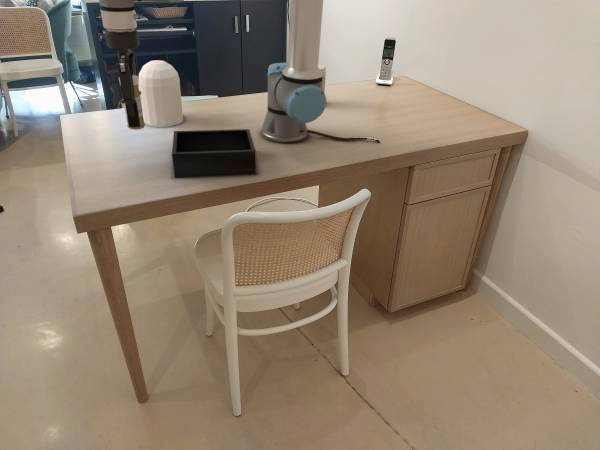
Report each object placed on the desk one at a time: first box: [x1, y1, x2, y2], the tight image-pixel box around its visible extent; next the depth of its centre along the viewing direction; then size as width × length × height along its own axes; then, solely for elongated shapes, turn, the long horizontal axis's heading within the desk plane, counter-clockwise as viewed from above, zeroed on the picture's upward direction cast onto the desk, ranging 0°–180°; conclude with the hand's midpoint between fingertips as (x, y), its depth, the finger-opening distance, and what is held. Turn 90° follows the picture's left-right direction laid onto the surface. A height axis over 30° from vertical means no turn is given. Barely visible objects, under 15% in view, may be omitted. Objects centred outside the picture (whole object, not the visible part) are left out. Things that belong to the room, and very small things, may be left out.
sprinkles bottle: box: [118, 74, 146, 131], centre depth 116 cm, size 5×5×13 cm
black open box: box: [171, 128, 257, 179], centre depth 128 cm, size 22×16×7 cm
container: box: [138, 59, 184, 128], centre depth 151 cm, size 13×13×20 cm
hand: (135, 123), depth 119 cm, fingers closed on sprinkles bottle, 4 cm apart
